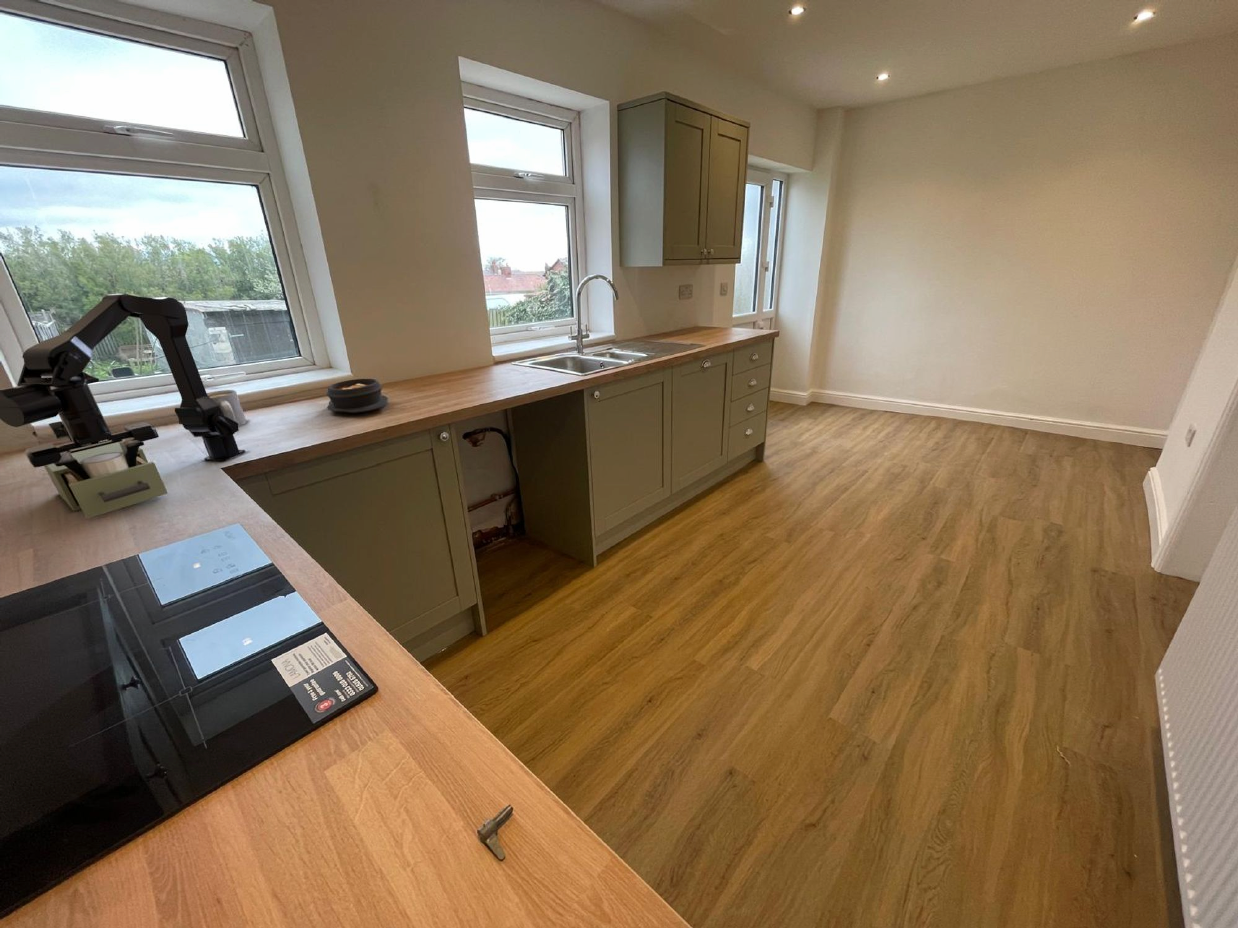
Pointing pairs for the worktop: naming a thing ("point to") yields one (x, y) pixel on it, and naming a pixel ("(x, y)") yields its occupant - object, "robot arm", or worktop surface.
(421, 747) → the worktop surface
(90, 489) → the drawer
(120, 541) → the worktop surface
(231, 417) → the coffee mug
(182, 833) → the worktop surface
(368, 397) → the casserole
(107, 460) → the white cup
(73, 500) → the cabinet
